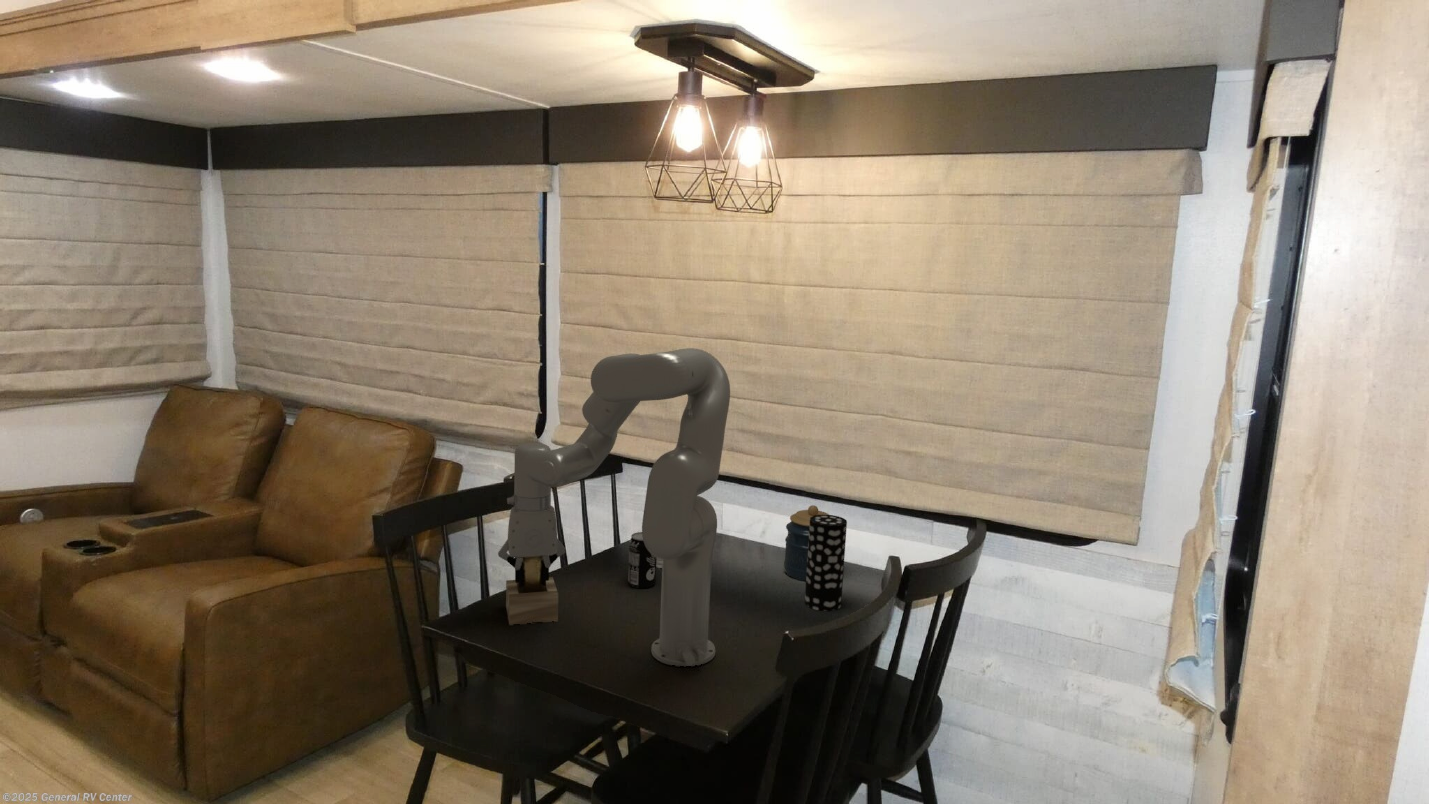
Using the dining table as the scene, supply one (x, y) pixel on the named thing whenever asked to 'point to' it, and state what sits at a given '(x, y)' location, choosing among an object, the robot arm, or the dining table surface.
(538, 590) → the banded brass cylinder
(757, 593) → the dining table surface
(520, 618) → the frame
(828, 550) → the white-spotted black cylinder
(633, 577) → the beverage can
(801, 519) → the canister
